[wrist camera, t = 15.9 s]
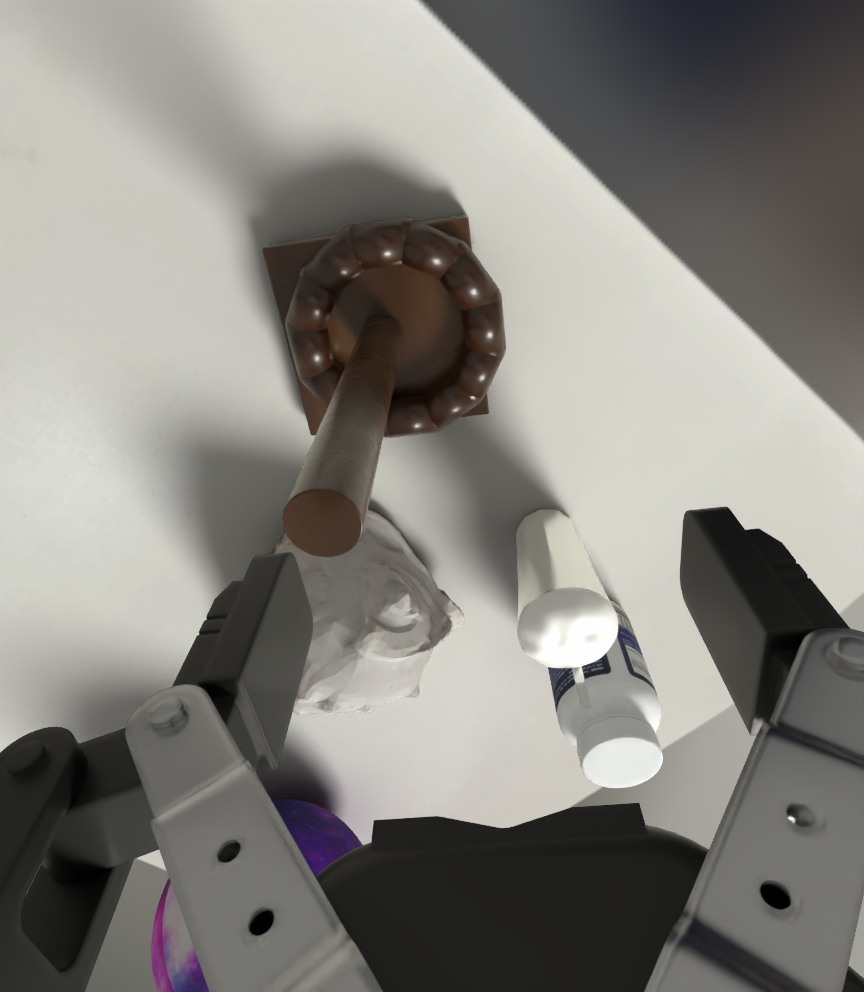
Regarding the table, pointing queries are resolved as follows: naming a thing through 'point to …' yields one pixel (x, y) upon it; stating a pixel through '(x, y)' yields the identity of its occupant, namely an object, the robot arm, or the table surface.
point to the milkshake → (561, 598)
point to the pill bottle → (612, 713)
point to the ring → (429, 256)
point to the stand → (364, 382)
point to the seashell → (369, 622)
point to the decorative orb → (171, 941)
